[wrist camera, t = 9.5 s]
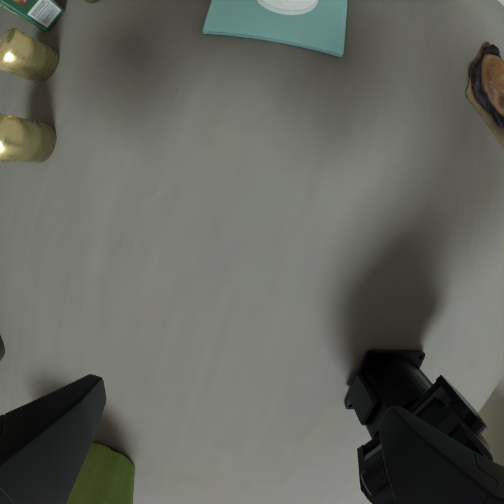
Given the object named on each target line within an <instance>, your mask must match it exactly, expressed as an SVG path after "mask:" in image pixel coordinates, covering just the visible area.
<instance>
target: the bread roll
mask: <svg viewBox="0 0 504 504" xmlns="http://www.w3.org/2000/svg"><path fill="white" fill-rule="evenodd" d="M499 53H500V52H499V49H498V48H497V47H496V46H495V45H491V46H489V44H488V43H485V44H484V45H483V47H482V48H481V50H480V52H479V53H478V56H477V58H476V61H475V63H474V64H472V68H471V69H470V78H469V82H468V86H467V89H466V98H467V99H468V101H469V102H470V103H471V104H472V105H473V106H474V108H475V109H476V110H477V112H478V113H479V114H480V115H481V117H482V118H483V120H484V121H485V122H486V124H487V125H488V126H489V128H490V129H491V131H492V132H493V133H494V135H495V136H496V138H497V139H498V141H499V142H500V144H501V145H502V147H503V148H504V61H503V60H502V58H501V56H500V55H499Z"/></svg>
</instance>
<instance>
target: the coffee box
mask: <svg viewBox="0 0 504 504" xmlns="http://www.w3.org/2000/svg"><path fill="white" fill-rule="evenodd" d="M0 5H1V6H2V7H4V8H6V9H8V10H9V11H11V12H12V13H14V14H15V15H17V16H19V17H21V18H23V19H25V20H27V21H29V22H30V23H32V24H34V25H36V26H38V27H40V28H41V29H43V30H45V31H48V30H49V29H50V28H51V27H52V25H53V24H54V23H55V22H56V20H57V19H58V18H59V17H60V16H61V15H62V14H63V13H64V11H65V10H64V9H63V8H62V7H61V6H60V5H59V4H57V3H56V2H55V1H54V0H0Z"/></svg>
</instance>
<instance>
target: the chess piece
mask: <svg viewBox="0 0 504 504" xmlns="http://www.w3.org/2000/svg"><path fill="white" fill-rule="evenodd" d="M256 1H257V2H258V3H259V4H260V5H261V6H263V7H264V8H266V9H268V10H270V11H272V12H275V13H279V14H284V15H300V14H304V13H307V12H309V11H311V10H312V9H314V8H315V7H316V5H317V3H318V0H256Z"/></svg>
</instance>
